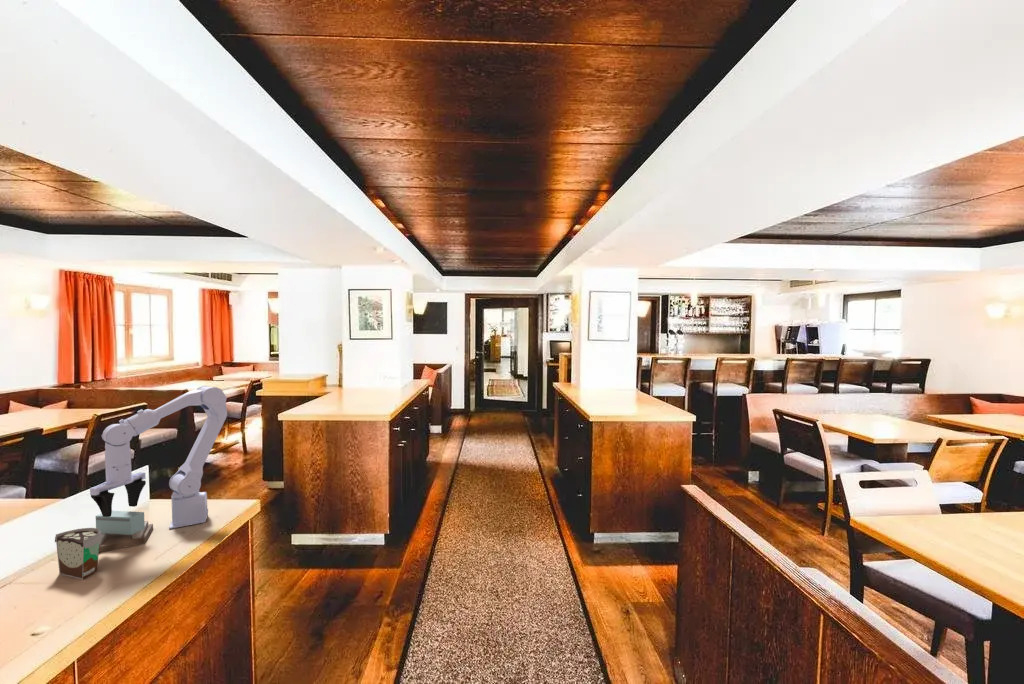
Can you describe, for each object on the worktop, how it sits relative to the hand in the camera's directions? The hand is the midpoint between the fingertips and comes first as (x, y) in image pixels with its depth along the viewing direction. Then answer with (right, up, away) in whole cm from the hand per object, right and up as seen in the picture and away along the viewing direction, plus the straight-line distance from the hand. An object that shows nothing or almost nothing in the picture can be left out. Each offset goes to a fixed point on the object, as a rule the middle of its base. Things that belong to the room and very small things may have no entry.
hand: (120, 511), depth 133 cm
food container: (+6, -9, -17) cm, 20 cm away
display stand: (0, -9, 0) cm, 9 cm away
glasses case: (0, -6, 0) cm, 6 cm away
